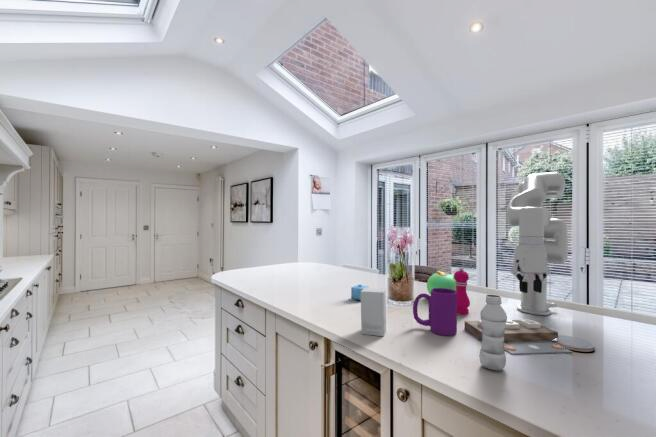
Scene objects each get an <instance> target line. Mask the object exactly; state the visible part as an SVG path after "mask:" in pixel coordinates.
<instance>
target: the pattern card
mask: <svg viewBox="0 0 656 437" xmlns="http://www.w3.org/2000/svg"><path fill="white" fill-rule="evenodd" d="M555 343H556V342H518V343H504V348H505V352H507V353H508V354H509V355H511V356H512V355H513V356H514V355H515V356H517V355H519V356H521V355H545V354H546V355H549V354H551V355H552V354H573V352H574V351H572V350H570V349H568V348H566V347H564V346H562V345H560V344H558V345H556V344H557V343H556V344H555ZM559 345H560V346H559ZM561 346H562V347H561ZM563 347H564V348H563ZM565 348H566V349H565Z"/></svg>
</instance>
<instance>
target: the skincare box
mask: <svg viewBox="0 0 656 437" xmlns="http://www.w3.org/2000/svg"><path fill="white" fill-rule="evenodd" d="M386 292H387V291H386V288H383V287H382V288H379V287H378V288H377V287H369V288H364V289H363V290H362V291H361V301H360V320H361V322H360V323H361V324H360V326H361V327H360V328H361V329H360V330H361V334H362V335H368V336H379V337H384V336H385V334H386V331H387V301H386V300H387V299H386V298H387V296H386V295H387V294H386Z"/></svg>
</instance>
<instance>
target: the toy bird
mask: <svg viewBox="0 0 656 437" xmlns="http://www.w3.org/2000/svg"><path fill="white" fill-rule="evenodd" d="M455 281H456V280H455V279H454V274H451V273H448V272H444V271H440V270H436V272H435V273H433V274H432V275H430V276H429V278H428V280H427V282H426V289H427V291H428V293H429V294H428V295H430V296H431V290H432V289H434V288H446V289H451V290H455V291H456V285H455Z"/></svg>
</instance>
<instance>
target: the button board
mask: <svg viewBox="0 0 656 437" xmlns="http://www.w3.org/2000/svg"><path fill="white" fill-rule="evenodd" d="M511 320H512V321H514V322H516V323H518V324H519V329H506V328H505V334H504V344H507V343H543V342H553V341H552V340H553V339H555V338H558V339H559V332H558V331H556V330H555V329H552V328H549V327H547V326H545V325H543V324H541V327H540V328H530V329H529V328H526V327H524V326H522V325H520V320H521V319H511ZM478 321H479V320H464V330H466V331H467V332H468V333H469V334H472V335H473V336H474V337H476V338H477V339H478V340H480V341H481V342H482V327H480V326H479V325H478Z"/></svg>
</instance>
